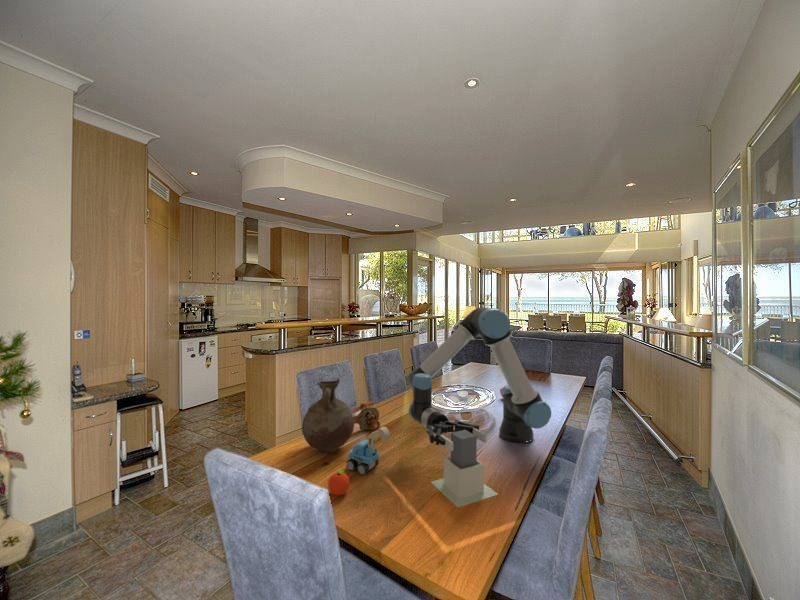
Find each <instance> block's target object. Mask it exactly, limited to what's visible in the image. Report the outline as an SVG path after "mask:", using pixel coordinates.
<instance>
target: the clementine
mask: <svg viewBox="0 0 800 600" xmlns="http://www.w3.org/2000/svg"><path fill="white" fill-rule="evenodd" d="M329 477H330V478H329V480H328V481H327V482H328V486H327V487H328V490H329V491H330V493H331V494H332V495H334V496H339V497H340V496H343V495H344V494H346V492H347V491H348V490H349V487H350V483H351V482H350V478H349V476H348V475H347V471H346V470H339V471H336V472H335V473H333V474H331V476H329Z"/></svg>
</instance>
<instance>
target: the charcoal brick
mask: <svg viewBox="0 0 800 600" xmlns="http://www.w3.org/2000/svg"><path fill="white" fill-rule="evenodd" d="M450 440H451V441H452V442H453V451H451V450H450V456H451V462H452V463H453V464H455V465H456V466H457V467H459V468H460V469H464V468H468V467H471V466H475V465H476V459H477V446H478V445H477V441H478V439H477V436H476V435H474V434H472V433H470V432H469V431H467V430H462V431H457V432H450Z"/></svg>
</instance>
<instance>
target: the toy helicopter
mask: <svg viewBox="0 0 800 600" xmlns="http://www.w3.org/2000/svg"><path fill="white" fill-rule="evenodd" d="M373 403H374V401H373V400H370V401H367V402H364V403H360V405H359V406H357V407H354V408H353V409H352V410H351V412H352V413H354V412H357V411H359V410H360V412H358V414H357V415H354V416H353V419H354V425H356V424H358V426H359V427H358V428H359V430H360V431H361V432H363V430H364V431H365V430H366V429H371V430H372V431H373V432H375V431H378V429H380V428H381V423H380V421H379V418H380V411H379V409H377V408H376V407H374V406H369V405H372V404H373Z"/></svg>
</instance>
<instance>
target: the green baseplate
mask: <svg viewBox="0 0 800 600" xmlns="http://www.w3.org/2000/svg"><path fill="white" fill-rule="evenodd" d="M430 483H431V484H432V485H433V486H434V487H435V488H436V489H437V490H438V491H440V493H442V494H443V495H444V496H445V497H446V498H447V499H448V500H449V501H450V502H451V503H452V504H453V505H454V506H455V507H456V508H461V507H463V506H468V505H470V504H471V505H472V504H473V503H476V502H480V501H482V500H485V499H489V498H492V497H494V496H498V495H499V493H497V491H495V490H494V489H492V488H490V486H488V485H487V484H485V483H484V492H481V493H478V494H475V495H472V496H468V497H465V498H462V499H460V498H458V497H457V496H456V495H455V494H454V493H453V492H452V491H451V490H449V489H448V488H447V487H446V486H445V485H444V477H443V478H440V479H435V480H433V481H430Z"/></svg>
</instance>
